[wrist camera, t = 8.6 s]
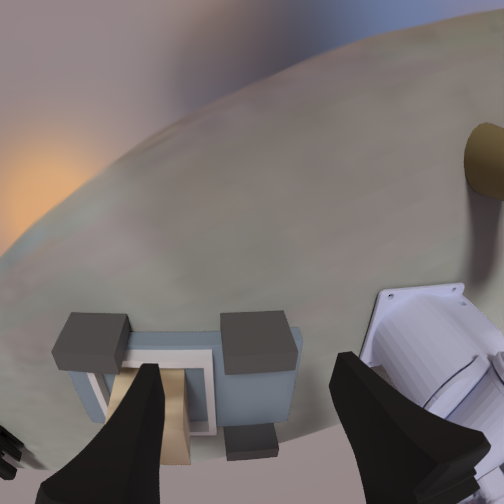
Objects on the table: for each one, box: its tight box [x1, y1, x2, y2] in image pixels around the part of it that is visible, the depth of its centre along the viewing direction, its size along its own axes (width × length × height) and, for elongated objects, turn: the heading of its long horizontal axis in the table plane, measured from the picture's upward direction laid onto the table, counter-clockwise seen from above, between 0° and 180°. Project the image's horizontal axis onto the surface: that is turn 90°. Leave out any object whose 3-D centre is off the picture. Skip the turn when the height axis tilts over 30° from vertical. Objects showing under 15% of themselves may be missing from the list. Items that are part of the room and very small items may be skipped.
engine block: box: [105, 367, 190, 465], centre depth 20 cm, size 5×5×6 cm
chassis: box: [51, 311, 303, 461], centre depth 22 cm, size 18×13×4 cm
